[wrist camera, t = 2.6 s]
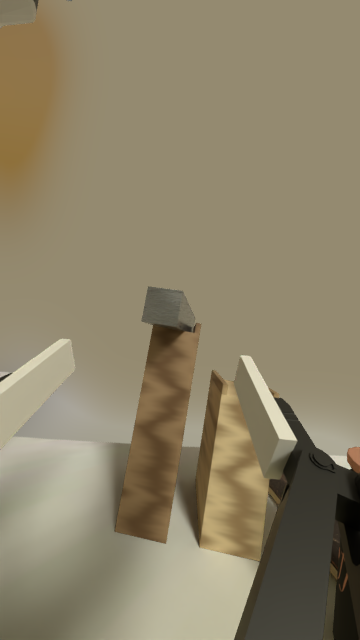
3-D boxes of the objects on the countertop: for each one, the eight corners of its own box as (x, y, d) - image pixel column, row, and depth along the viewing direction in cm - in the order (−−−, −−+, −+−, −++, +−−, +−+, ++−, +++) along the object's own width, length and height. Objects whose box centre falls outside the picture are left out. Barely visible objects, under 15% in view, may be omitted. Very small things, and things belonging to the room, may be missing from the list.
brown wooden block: (114, 531, 25) (154, 316, 28) (139, 465, 38) (165, 323, 41) (165, 543, 24) (201, 323, 27) (173, 473, 37) (196, 328, 40)
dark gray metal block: (141, 321, 21) (148, 286, 21) (175, 332, 42) (178, 315, 43) (176, 327, 20) (182, 291, 20) (192, 335, 41) (195, 317, 42)
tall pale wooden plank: (199, 547, 25) (223, 383, 27) (195, 479, 37) (212, 370, 39) (260, 561, 24) (279, 394, 26) (235, 488, 36) (250, 377, 38)
